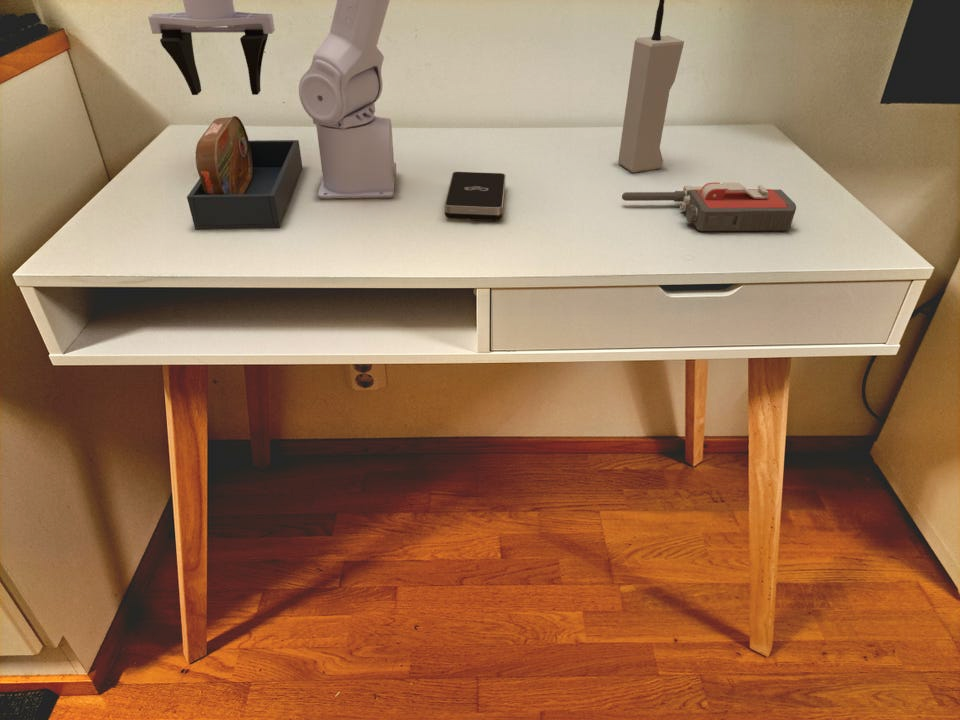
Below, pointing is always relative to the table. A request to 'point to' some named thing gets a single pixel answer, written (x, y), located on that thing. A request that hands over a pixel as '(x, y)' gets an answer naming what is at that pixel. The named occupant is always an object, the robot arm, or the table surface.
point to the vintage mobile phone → (648, 98)
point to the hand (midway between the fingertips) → (226, 92)
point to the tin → (224, 158)
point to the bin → (253, 191)
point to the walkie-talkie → (728, 206)
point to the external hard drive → (475, 196)
